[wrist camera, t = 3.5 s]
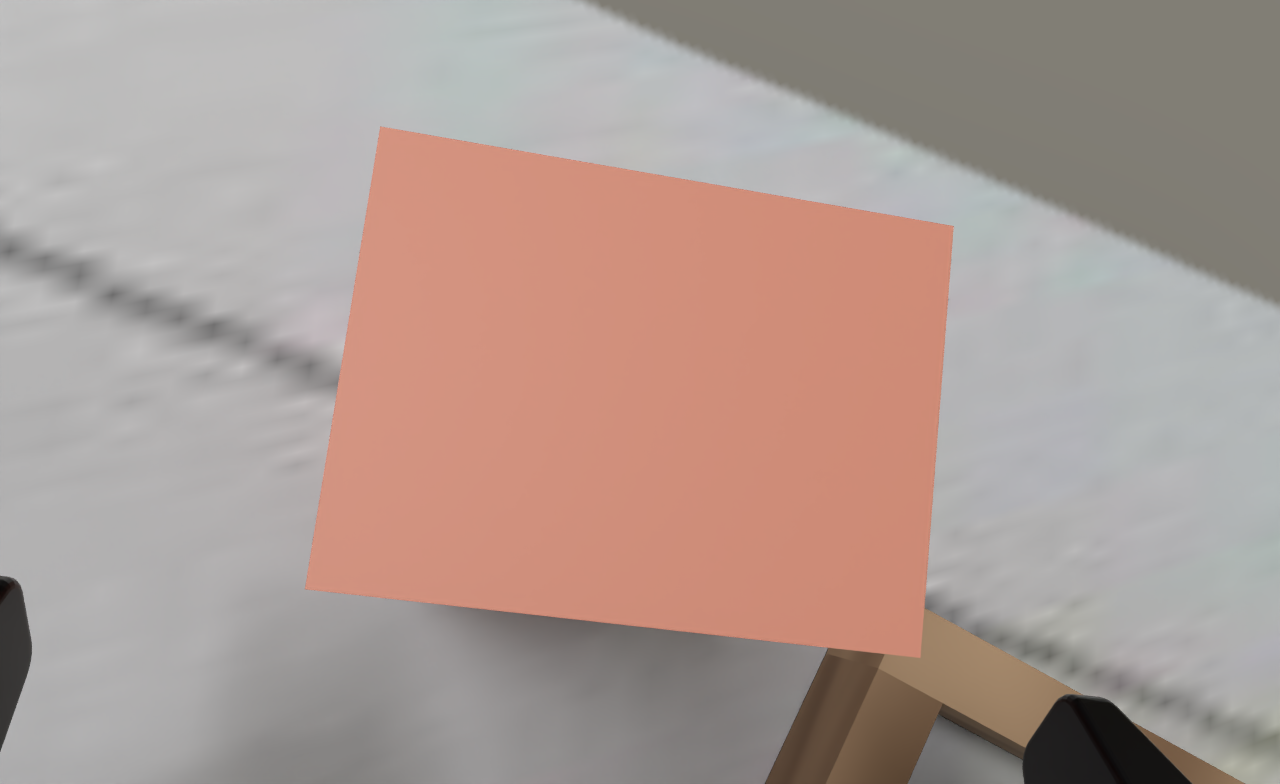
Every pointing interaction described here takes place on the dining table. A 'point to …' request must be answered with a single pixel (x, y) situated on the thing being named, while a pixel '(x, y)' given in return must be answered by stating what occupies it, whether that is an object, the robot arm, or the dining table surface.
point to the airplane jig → (925, 710)
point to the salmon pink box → (635, 401)
